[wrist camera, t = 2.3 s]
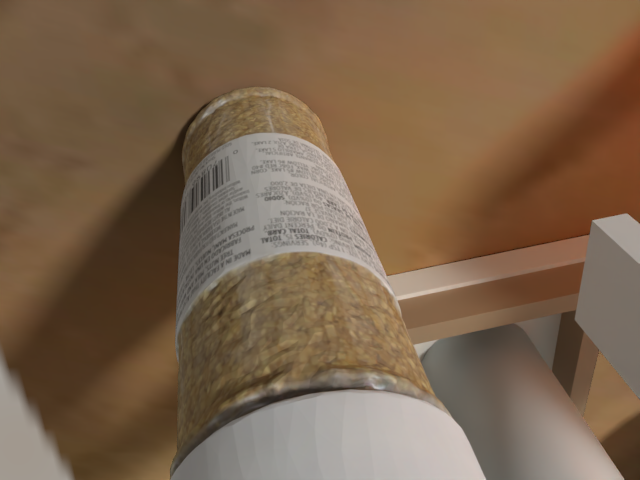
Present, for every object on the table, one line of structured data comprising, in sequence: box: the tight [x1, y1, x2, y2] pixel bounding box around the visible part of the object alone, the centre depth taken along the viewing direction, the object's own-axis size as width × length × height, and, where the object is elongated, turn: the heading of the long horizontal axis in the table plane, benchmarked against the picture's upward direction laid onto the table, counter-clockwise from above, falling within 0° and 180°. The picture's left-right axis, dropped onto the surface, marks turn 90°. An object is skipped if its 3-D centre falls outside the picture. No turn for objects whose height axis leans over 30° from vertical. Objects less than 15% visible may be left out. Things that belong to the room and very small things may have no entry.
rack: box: [387, 235, 599, 417], centre depth 26 cm, size 18×11×3 cm, turn 7°
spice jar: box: [170, 87, 486, 480], centre depth 12 cm, size 5×5×13 cm
